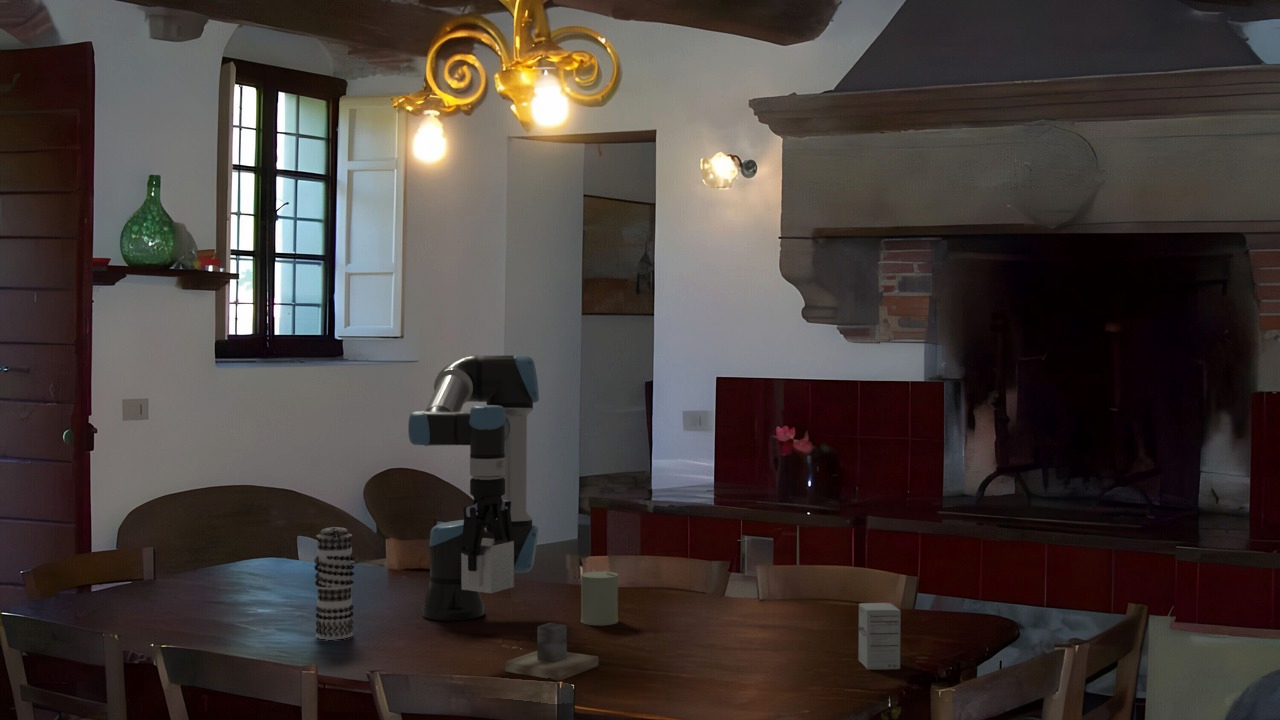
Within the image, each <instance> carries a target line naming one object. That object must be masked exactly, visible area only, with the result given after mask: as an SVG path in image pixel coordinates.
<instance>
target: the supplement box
mask: <svg viewBox="0 0 1280 720" xmlns="http://www.w3.org/2000/svg"><path fill="white" fill-rule="evenodd" d="M901 615H902V614H901V609H899V608H898V607H897V606H895V604H893V603H890V602H868V603H867V602H865V603H858V662H860V663H861V664H862V665H863V666H864V667H865V669H866V670H868V671H869V670H873V671H874V670H900V669H901V626H902V625H901V622H902V621H901Z"/></svg>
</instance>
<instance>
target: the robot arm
mask: <svg viewBox="0 0 1280 720" xmlns="http://www.w3.org/2000/svg"><path fill="white" fill-rule="evenodd" d="M539 400H540V395H539V385H538V375H537V369H536V365H535V362H534V359H533V358H531V356H527V355H525V356H524V355H516V354H514V355H469V356H465V357H462V358H459V359H457V360H455V361H452V362H451V363H450V364H448V365H446V366H445V367H444V368H443V369H441V371H439V372H438V374H437V376H436V378H435V379H434V384H433V393H432V396H431V398H430V400H429V403H428V404H427V407H426V409H425V411H424V410H420V411H413V412H411V413H410V415H409V418H408V438H409V442H410V443H411V444H412V445H414V446H424V447H428V446H469V447H470V448H469V449H470V454H469V476H471V478H470V480H469V494H470V495H471V496H472V497H473V502H472V505H470V506H464V507H463V508H462V509H463V511H462V512H463V519H459V520H453V521H446V522H443V523H439V524H435V526H433V527H432V528H431V529H430V534H429V535H430V536H429V544H428V546H429V586H428V590H427V592H426V596H425V599H424V603H423V605H422V616H423V618H426V619H429V620H434V621H445V622H447V621H448V622H449V621H450V622H451V621H467V620H472V619H478V618H480V617H483V616H484V615H485V605H484V602H483V600H482V596H481V592H477V591H470V590H462V584H461V553H463V554H464V555H467V556H468V570H469V585H470V586H477V587H480V586H481V556H479V555H478V554H479V550H480V546H481V542H482V538H490V539H499V540H508V541H514V574H522V573H525V574H526V573H529V572H530V571H531V570H532V568H533V567H534V562H535V557H536V552H537V544H538V537H539V536H538V535H539V533H538V532H539V527H538V526H537V525H535V524H534V525H533V517H532V516H531V515H530V514H528V512H527V459H528V458H527V454H528V453H527V450H528V448H527V447H528V444H527V443H528V442H527V441H528V440H527V438H528V436H527V435H528V433H527V431H528V430H527V429H528V428H527V427H528V426H527V425H528V421H527V420H528V415H529V414H531V412H532V411H533V410H534V403H535V404H536V403H537V402H539ZM467 402H469V403H470V402H471V403H472V402H473V403H475V402H477V403H486V404H481V405H480V404H479V405H473V406H472V407H471V408H470V411H462V410H463V409H462V408H463V405H464V404H466V403H467ZM466 547H467V548H466ZM473 549H474V550H473Z"/></svg>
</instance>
